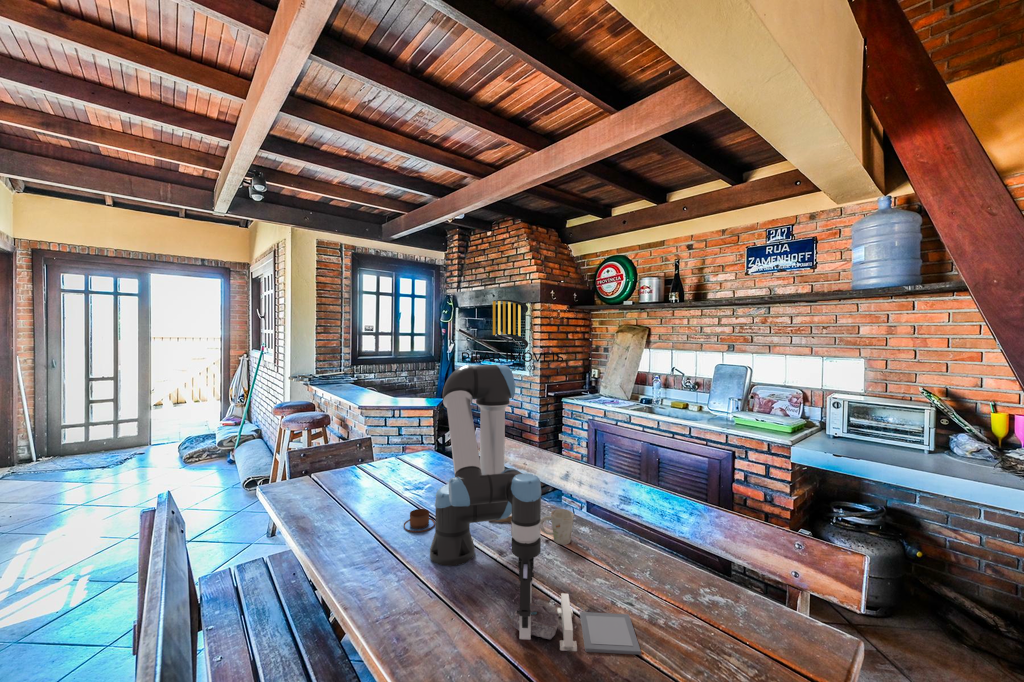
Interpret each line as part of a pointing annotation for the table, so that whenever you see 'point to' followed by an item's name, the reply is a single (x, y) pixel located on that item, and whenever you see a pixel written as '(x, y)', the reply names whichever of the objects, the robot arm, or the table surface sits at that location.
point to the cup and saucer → (419, 520)
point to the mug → (560, 525)
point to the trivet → (609, 633)
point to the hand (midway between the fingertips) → (525, 619)
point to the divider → (566, 624)
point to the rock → (540, 621)
